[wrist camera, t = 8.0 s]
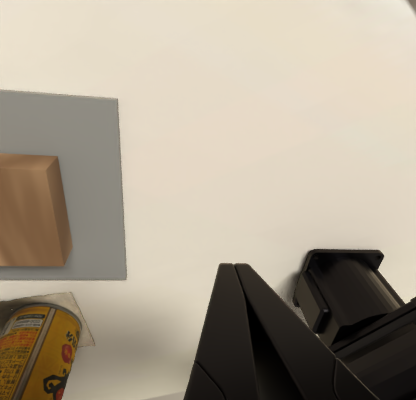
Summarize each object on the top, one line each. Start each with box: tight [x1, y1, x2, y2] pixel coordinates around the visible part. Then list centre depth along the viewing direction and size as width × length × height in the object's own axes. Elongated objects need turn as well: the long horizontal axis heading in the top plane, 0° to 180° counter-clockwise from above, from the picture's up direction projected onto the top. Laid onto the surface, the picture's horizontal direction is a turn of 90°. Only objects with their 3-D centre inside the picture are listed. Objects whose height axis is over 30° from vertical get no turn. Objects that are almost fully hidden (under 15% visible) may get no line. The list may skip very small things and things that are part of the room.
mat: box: [0, 90, 127, 280], centre depth 20 cm, size 12×14×1 cm
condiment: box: [0, 292, 95, 400], centre depth 21 cm, size 7×8×12 cm
